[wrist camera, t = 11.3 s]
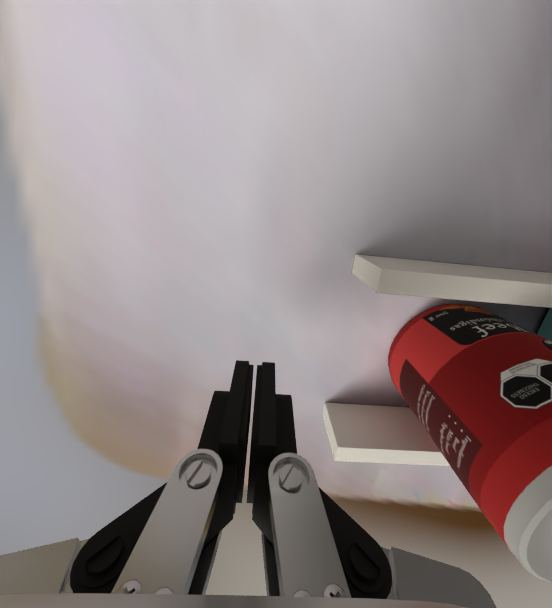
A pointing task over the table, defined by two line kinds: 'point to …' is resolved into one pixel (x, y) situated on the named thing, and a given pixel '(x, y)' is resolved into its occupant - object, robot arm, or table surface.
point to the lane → (425, 283)
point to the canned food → (486, 416)
